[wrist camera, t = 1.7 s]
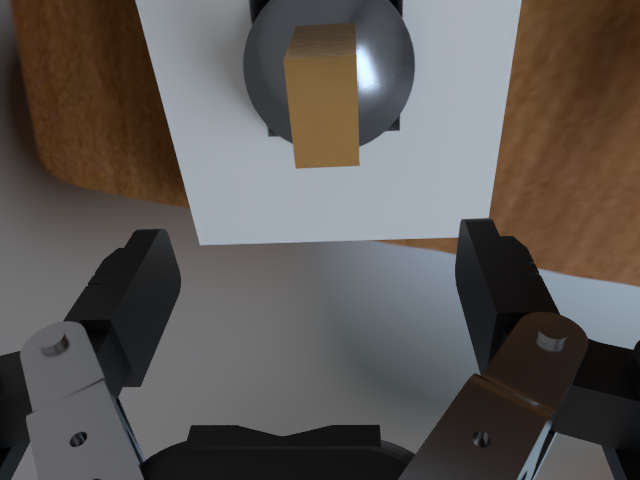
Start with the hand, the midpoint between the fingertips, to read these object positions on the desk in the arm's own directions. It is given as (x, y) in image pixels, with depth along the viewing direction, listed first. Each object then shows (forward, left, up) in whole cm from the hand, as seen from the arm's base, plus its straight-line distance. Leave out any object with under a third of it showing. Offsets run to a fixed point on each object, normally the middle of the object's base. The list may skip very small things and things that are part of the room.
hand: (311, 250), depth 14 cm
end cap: (0, 0, -22) cm, 22 cm away
